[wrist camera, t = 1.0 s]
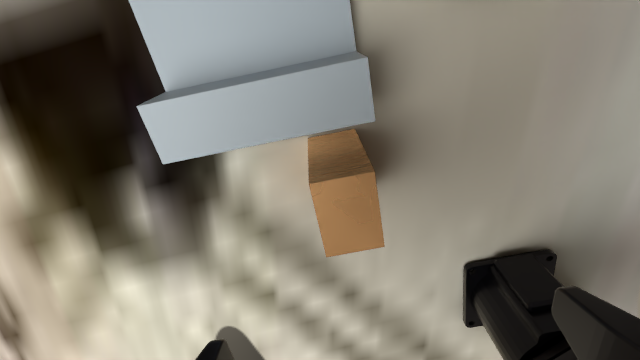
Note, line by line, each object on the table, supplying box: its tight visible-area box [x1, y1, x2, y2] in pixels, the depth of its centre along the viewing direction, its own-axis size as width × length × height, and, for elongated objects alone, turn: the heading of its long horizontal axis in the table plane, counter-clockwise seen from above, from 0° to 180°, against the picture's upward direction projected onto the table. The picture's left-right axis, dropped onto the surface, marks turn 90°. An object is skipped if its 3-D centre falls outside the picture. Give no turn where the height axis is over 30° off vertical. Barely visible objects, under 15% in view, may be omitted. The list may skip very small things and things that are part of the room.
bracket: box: [129, 0, 375, 164], centre depth 14 cm, size 11×10×4 cm
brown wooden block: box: [308, 129, 385, 257], centre depth 17 cm, size 4×3×6 cm
